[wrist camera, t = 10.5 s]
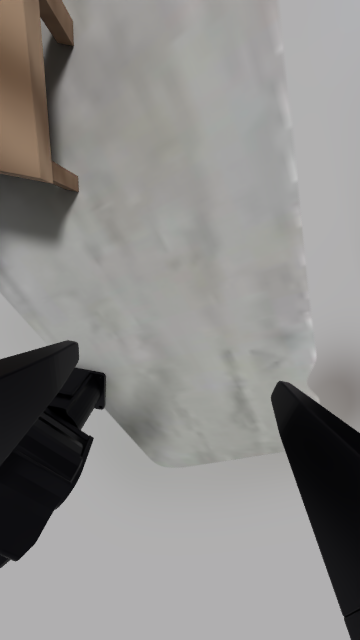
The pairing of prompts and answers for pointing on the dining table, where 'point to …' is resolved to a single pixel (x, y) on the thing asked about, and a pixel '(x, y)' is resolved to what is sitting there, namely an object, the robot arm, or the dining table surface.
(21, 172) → the stool
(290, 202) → the dining table surface
